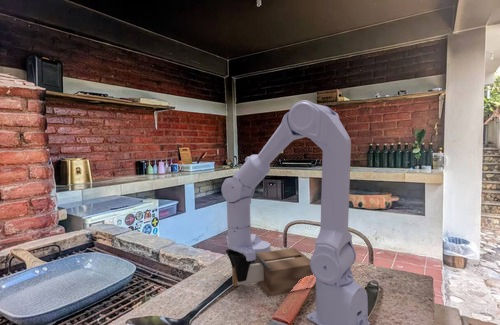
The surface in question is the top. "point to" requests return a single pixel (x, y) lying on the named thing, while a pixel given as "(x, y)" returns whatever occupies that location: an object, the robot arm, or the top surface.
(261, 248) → the wedge on round base
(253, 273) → the cream wooden plank
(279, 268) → the dispenser
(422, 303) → the top surface
